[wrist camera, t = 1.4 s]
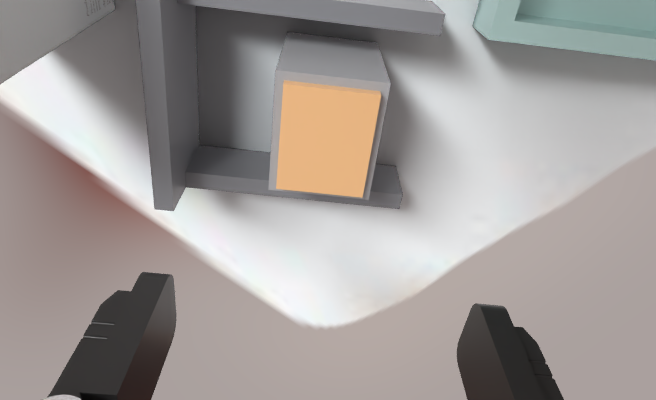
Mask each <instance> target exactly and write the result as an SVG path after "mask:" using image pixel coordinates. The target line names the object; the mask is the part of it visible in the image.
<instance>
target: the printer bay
mask: <svg viewBox="0 0 656 400" xmlns="http://www.w3.org/2000/svg"><path fill="white" fill-rule="evenodd" d="M196 6H203V7H211V8H219V9H227V10H235V11H243V12H251V13H259V14H267V15H276V16H284V17H292V18H300V19H308V20H316V21H324V22H332V23H340V24H348V25H356V26H364V27H372V28H380V29H388V30H396V31H404V32H412V33H420V34H428V35H436V36H440V35H441V31H442V27H443V22H444V18H445V13H444V12H443V11H442V10H441V9H440V8H439V7H438V6H437V5H436V4H435V3H433V2H432V1H428V0H136V10H137V21H138V32H139V43H140V54H141V65H142V76H143V87H144V98H145V109H146V120H147V131H148V142H149V153H150V164H151V175H152V186H153V197H154V208H155V209H158V210H168V211H174V209H175V207H176V205H177V203H178V201H179V200H180V198H181V196H182V194H183V192H184V190H185V188H186V187H189V188H199V189H209V190H219V191H228V192H238V193H248V194H258V195H268V196H277V197H287V198H297V199H307V200H317V201H326V202H336V203H346V204H356V205H365V206H375V207H385V208H395V209H399V208H400V204H401V200H402V196H403V194H402V190H401V186H400V182H399V177H398V173H397V169H396V166H389V165H380V164H375V169H374V174H373V179H372V185H371V190H370V195H369V200H365V199H355V198H345V197H335V196H325V195H315V194H306V193H296V192H286V191H276V190H268V189H269V172H270V155H271V153H268V152H259V151H250V150H240V149H231V148H222V147H212V146H203V145H200V144H199V109H198V74H197V38H196Z"/></svg>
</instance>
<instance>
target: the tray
mask: <svg viewBox="0 0 656 400" xmlns="http://www.w3.org/2000/svg"><path fill="white" fill-rule="evenodd" d="M473 27H474V28H475V29H476V30H477V31H479V32H480V33H481V34H482V35H483V36H484V37H485V38H487V39H488V40H494V41H502V42H510V43H518V44H526V45H534V46H542V47H550V48H558V49H566V50H574V51H582V52H590V53H598V54H606V55H614V56H622V57H630V58H638V59H646V60H654V61H656V0H480V1H479V4H478V8H477V12H476V15H475V19H474V23H473Z"/></svg>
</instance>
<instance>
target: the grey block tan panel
mask: <svg viewBox="0 0 656 400" xmlns="http://www.w3.org/2000/svg"><path fill="white" fill-rule="evenodd" d="M390 86H391V82H390V79H389V76H388V73H387V70H386V67H385V64H384V61H383V58H382V55H381V52H380V49H379V46H378V43H375V42H367V41H359V40H350V39H342V38H334V37H326V36H318V35H309V34H301V33H293V32H288V33H287V36H286V39H285V42H284V45H283V48H282V51H281V55H280V58H279V61H278V64H277V67H276V71H275V88H274V105H273V122H272V139H271V155H270V172H269V189H268V190H276V191H286V192H296V193H306V194H315V195H325V196H335V197H345V198H355V199H365V200H369V195H370V190H371V185H372V179H373V174H374V169H375V164H376V159H377V153H378V148H379V143H380V138H381V133H382V127H383V122H384V117H385V112H386V107H387V101H388V96H389V91H390Z"/></svg>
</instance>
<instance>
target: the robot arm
mask: <svg viewBox="0 0 656 400" xmlns="http://www.w3.org/2000/svg"><path fill="white" fill-rule="evenodd" d="M175 327H176V306H175V292H174V279H173V276H172V275H169V274H159V273H148V272H142V273H141V274H140V276H139V278H138V279H137V281H136V283H135V285H134V287H133V289H132V291H131V292H129V291H120V290H118V291H117V292H115V293H114V294H113V295H112V296H110V297H109V298H108V299H107V300H106V301H104V302H103V303H102V304H101V305H100V307H99V309H98V311H97V312H96V314H95V316H94V318H93V320H92V323H91V325H89V327H88V328H87V330H86V332H85V334H84V337H83V339H81V341H80V342H79V344H78V346H77V348H76V350H75V351H74V353H73V355H72V356H71V358H70V360H69V362H68V363H67V365H66V367H65V369H64V370H63V372H62V374H61V376H60V377H59V379H58V381H57V383H56V385H55V386H54V388H53V390H52V391H51V393H50V394H49V396H48V397H47V398H45V399H42V400H151V398H152V395H153V393H154V390H155V387H156V384H157V381H158V379H159V376H160V373H161V370H162V367H163V365H164V362H165V359H166V357H167V354H168V351H169V348H170V346H171V343H172V340H173V337H174V332H175ZM457 362H458V367H459V370H460V374H461V378H462V381H463V385H464V388H465V392H466V396H467V399H468V400H564V399H563V397H562V395H561V393H560V391H559V388H558V386H557V384H556V382H555V380H554V379H552V374H551V371H550V369H549V367H548V365H547V364H545V359H544V357H543V354H542V352H541V350H540V348H539V346H538V344H537V342H536V341H535V340H534V339H533V338H532V337H531V336H530V335H529V334H528V333H527V332H526V331H525V330H524V328H522V327H514V326H513V323H512V321H511V319H510V317H509V314H508V312H507V310H506V308H505V307H503V306H496V305H486V304H474V305H473V306H472V308H471V310H470V313H469V316H468V318H467V321H466V323H465V326H464V329H463V331H462V334H461V337H460V339H459V342H458V347H457Z"/></svg>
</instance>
